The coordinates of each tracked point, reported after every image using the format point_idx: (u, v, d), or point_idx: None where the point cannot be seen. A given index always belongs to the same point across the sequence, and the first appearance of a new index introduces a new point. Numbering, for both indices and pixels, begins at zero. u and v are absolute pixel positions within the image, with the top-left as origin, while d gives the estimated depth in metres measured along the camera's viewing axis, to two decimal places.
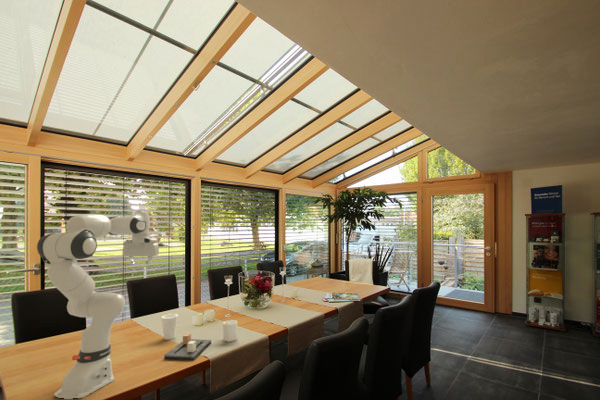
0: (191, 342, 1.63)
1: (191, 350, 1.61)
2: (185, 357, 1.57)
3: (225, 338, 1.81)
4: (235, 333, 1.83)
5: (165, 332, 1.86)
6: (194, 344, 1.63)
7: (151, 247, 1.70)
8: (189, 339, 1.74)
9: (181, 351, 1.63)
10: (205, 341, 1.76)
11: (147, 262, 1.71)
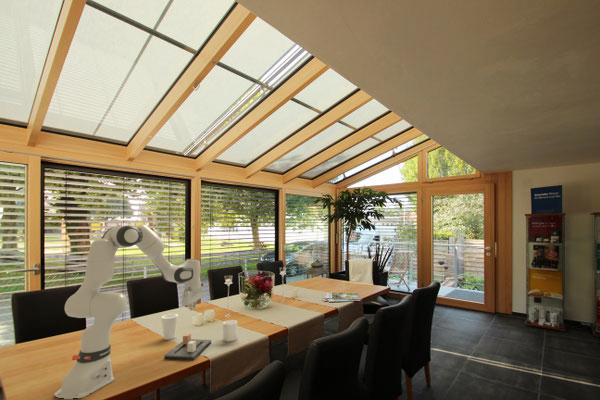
0: (191, 342, 1.63)
1: (191, 350, 1.61)
2: (185, 357, 1.57)
3: (225, 338, 1.81)
4: (235, 333, 1.83)
5: (165, 332, 1.86)
6: (194, 344, 1.63)
7: (201, 290, 1.90)
8: (189, 339, 1.74)
9: (181, 351, 1.63)
10: (205, 341, 1.76)
11: (195, 306, 1.84)
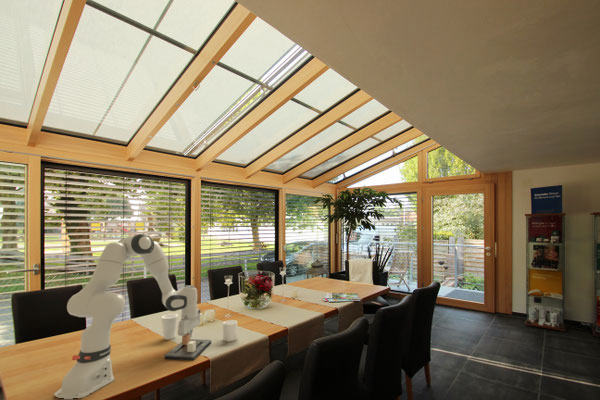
0: (191, 342, 1.63)
1: (191, 350, 1.61)
2: (185, 357, 1.57)
3: (225, 338, 1.81)
4: (235, 333, 1.83)
5: (165, 332, 1.86)
6: (194, 344, 1.63)
7: (198, 317, 1.85)
8: (188, 340, 1.73)
9: (181, 351, 1.63)
10: (205, 341, 1.76)
11: (191, 335, 1.78)
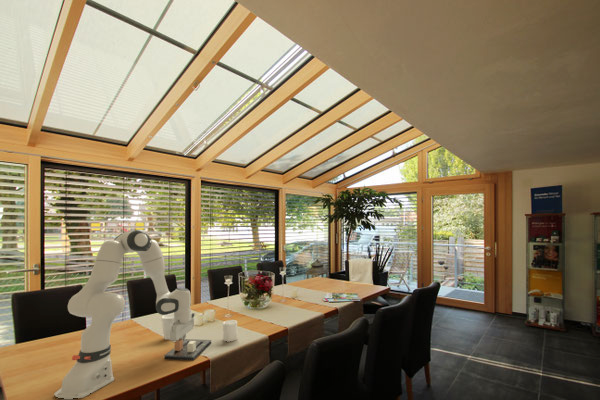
0: (191, 342, 1.63)
1: (191, 350, 1.61)
2: (185, 357, 1.57)
3: (225, 338, 1.81)
4: (235, 333, 1.83)
5: (165, 332, 1.86)
6: (194, 344, 1.63)
7: (192, 321, 1.77)
8: (181, 345, 1.66)
9: (181, 351, 1.63)
10: (205, 341, 1.76)
11: (184, 340, 1.70)
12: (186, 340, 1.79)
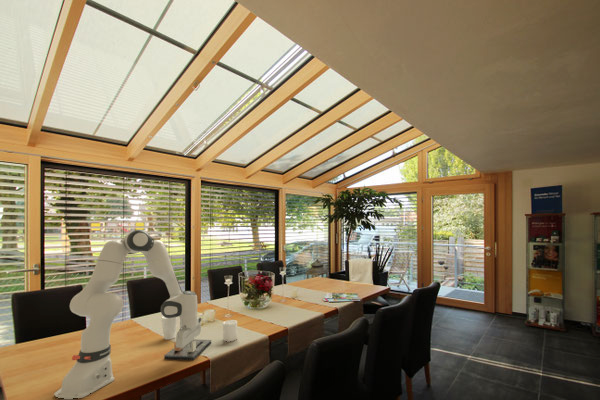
0: None
1: (191, 350, 1.62)
2: (185, 357, 1.57)
3: (225, 338, 1.81)
4: (235, 333, 1.83)
5: (165, 332, 1.86)
6: (194, 344, 1.63)
7: (199, 326, 1.68)
8: None
9: (181, 351, 1.63)
10: (205, 341, 1.76)
11: (190, 347, 1.61)
12: None
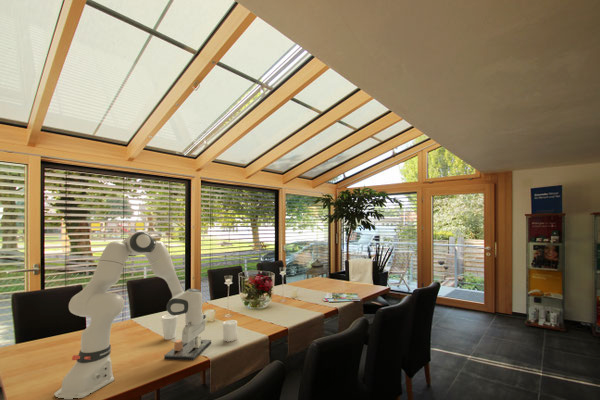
0: None
1: (196, 346, 1.67)
2: (185, 357, 1.57)
3: (225, 338, 1.81)
4: (235, 333, 1.83)
5: (165, 332, 1.86)
6: (199, 340, 1.69)
7: (203, 322, 1.74)
8: (181, 345, 1.65)
9: (181, 351, 1.63)
10: (205, 341, 1.76)
11: (196, 342, 1.66)
12: None
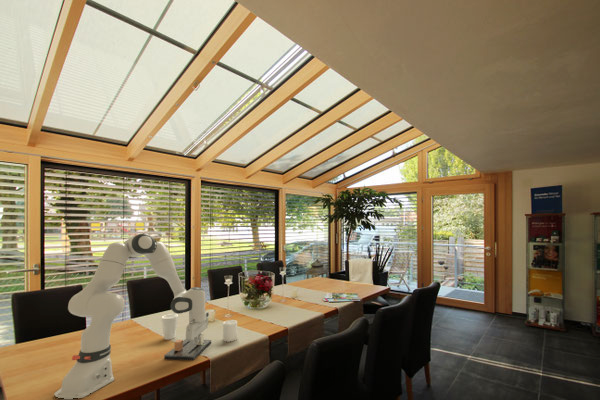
0: None
1: (199, 343, 1.71)
2: (185, 357, 1.57)
3: (225, 338, 1.81)
4: (235, 333, 1.83)
5: (165, 332, 1.86)
6: (202, 337, 1.73)
7: (206, 320, 1.78)
8: (181, 345, 1.65)
9: (181, 351, 1.63)
10: (205, 341, 1.76)
11: (199, 339, 1.70)
12: (186, 340, 1.79)
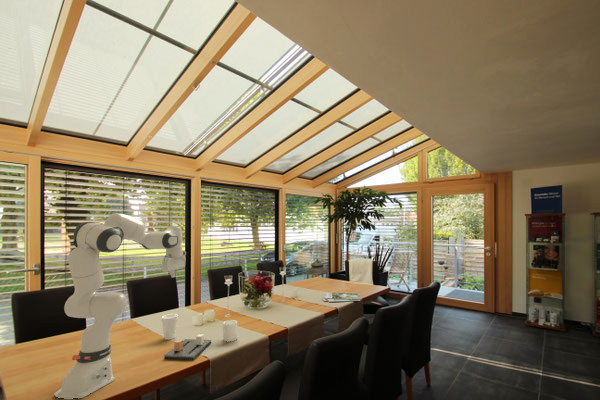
0: (199, 335, 1.73)
1: (199, 343, 1.71)
2: (185, 357, 1.57)
3: (225, 338, 1.81)
4: (235, 333, 1.83)
5: (165, 332, 1.86)
6: (202, 337, 1.73)
7: (183, 259, 1.87)
8: (181, 345, 1.65)
9: (181, 351, 1.63)
10: (205, 341, 1.76)
11: (175, 275, 1.80)
12: (186, 340, 1.79)
